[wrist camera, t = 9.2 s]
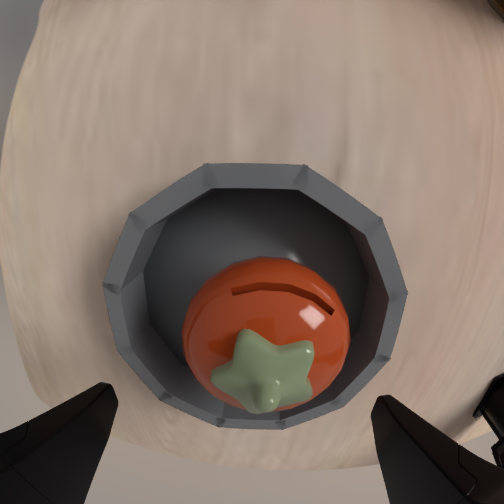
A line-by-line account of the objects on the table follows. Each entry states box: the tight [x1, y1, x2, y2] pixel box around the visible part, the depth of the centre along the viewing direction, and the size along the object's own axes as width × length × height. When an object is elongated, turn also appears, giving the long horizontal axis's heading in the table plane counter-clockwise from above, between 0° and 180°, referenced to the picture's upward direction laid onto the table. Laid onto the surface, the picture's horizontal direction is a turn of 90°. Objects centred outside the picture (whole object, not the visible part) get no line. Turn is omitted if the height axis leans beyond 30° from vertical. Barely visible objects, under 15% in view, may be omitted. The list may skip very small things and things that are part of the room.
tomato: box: [181, 256, 351, 414], centre depth 11 cm, size 7×7×8 cm
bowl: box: [103, 163, 408, 430], centre depth 14 cm, size 15×15×4 cm
